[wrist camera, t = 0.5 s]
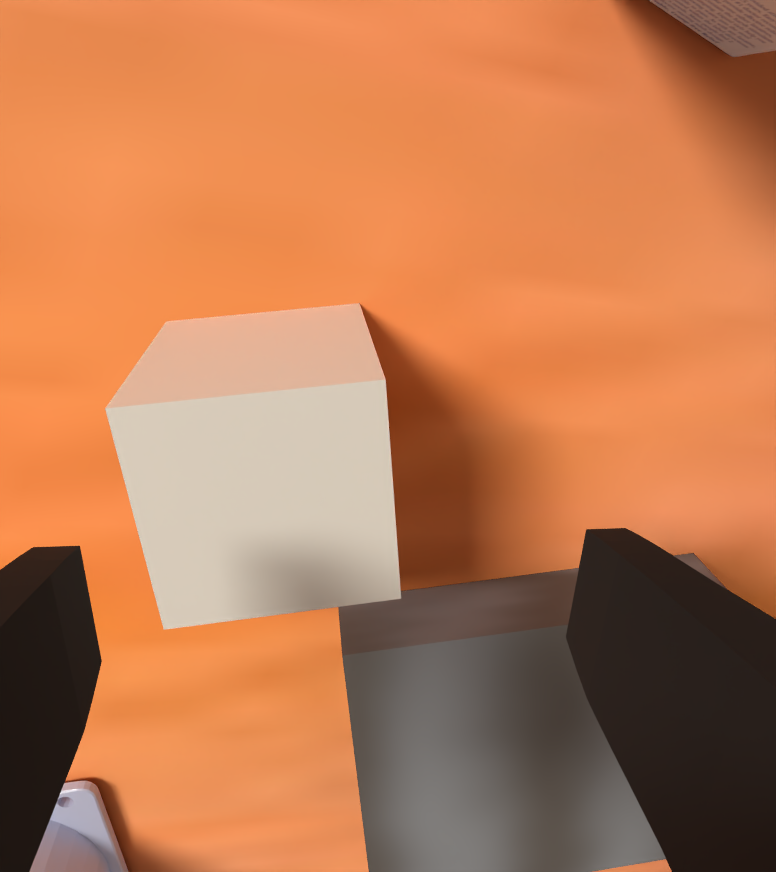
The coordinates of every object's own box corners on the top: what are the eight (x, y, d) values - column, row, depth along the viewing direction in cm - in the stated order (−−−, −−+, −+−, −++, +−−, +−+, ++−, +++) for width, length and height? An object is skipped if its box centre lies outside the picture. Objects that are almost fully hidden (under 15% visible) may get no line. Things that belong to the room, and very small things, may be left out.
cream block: (202, 489, 19) (163, 629, 14) (166, 321, 17) (105, 408, 12) (373, 470, 20) (401, 598, 14) (359, 302, 18) (385, 379, 12)
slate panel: (366, 830, 27) (373, 908, 24) (337, 590, 22) (342, 655, 19) (651, 784, 28) (688, 855, 25) (686, 545, 23) (738, 601, 20)
